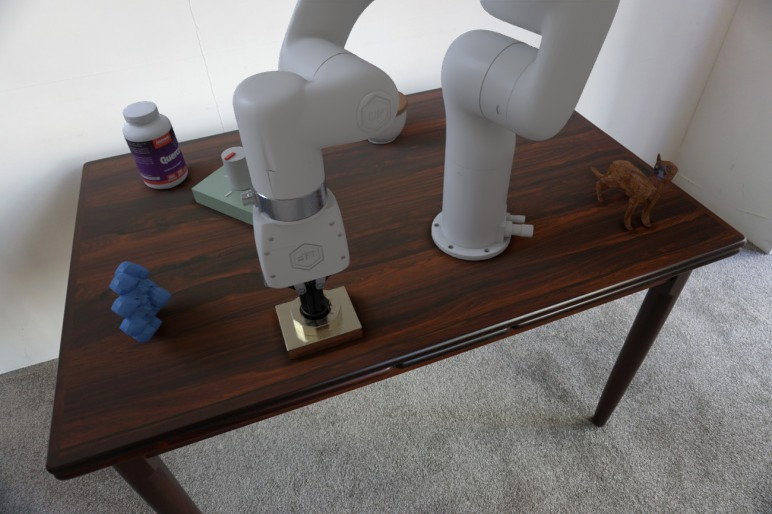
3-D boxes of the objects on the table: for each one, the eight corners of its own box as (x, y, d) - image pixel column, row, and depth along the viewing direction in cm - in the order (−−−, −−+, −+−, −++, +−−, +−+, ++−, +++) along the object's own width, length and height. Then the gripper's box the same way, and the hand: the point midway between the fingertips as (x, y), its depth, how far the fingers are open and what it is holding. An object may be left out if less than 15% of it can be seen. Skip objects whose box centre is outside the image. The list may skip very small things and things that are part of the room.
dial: (241, 172, 93) (233, 142, 89) (260, 179, 91) (253, 148, 87) (224, 186, 90) (215, 155, 86) (243, 193, 89) (235, 162, 84)
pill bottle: (176, 194, 94) (148, 123, 84) (137, 189, 96) (104, 119, 86) (197, 168, 100) (172, 98, 90) (159, 164, 101) (130, 95, 91)
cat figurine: (573, 176, 94) (591, 106, 84) (606, 170, 95) (628, 100, 85) (628, 241, 81) (657, 168, 72) (666, 234, 82) (700, 161, 73)
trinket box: (408, 149, 102) (408, 106, 95) (353, 151, 102) (349, 107, 96) (407, 121, 109) (407, 79, 103) (356, 122, 110) (353, 80, 103)
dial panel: (296, 191, 94) (293, 177, 91) (256, 227, 87) (252, 212, 85) (238, 170, 99) (234, 156, 97) (196, 202, 92) (190, 187, 90)
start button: (326, 299, 71) (324, 290, 70) (333, 318, 69) (331, 309, 67) (300, 306, 70) (298, 298, 69) (306, 326, 68) (304, 317, 67)
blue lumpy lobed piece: (184, 356, 69) (152, 296, 60) (131, 368, 68) (91, 309, 59) (186, 292, 77) (158, 232, 69) (138, 302, 76) (104, 242, 68)
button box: (345, 295, 75) (343, 276, 73) (363, 337, 70) (360, 318, 67) (277, 315, 73) (272, 297, 70) (290, 360, 68) (284, 342, 65)
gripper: (225, 231, 51) (261, 343, 64) (369, 196, 55) (376, 309, 67) (216, 188, 56) (251, 300, 69) (348, 158, 60) (358, 270, 72)
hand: (313, 304), depth 68 cm, fingers closed
